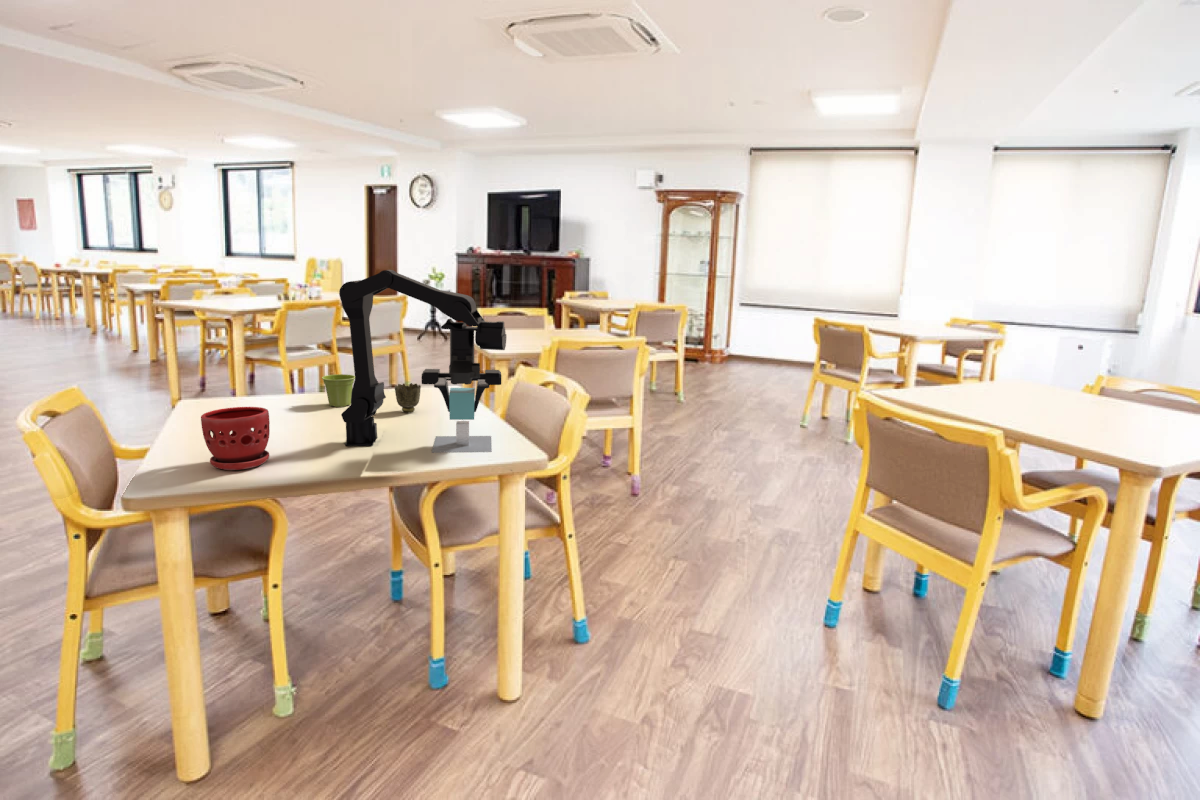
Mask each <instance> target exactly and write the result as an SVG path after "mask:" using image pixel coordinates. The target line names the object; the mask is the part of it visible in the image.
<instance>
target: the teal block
mask: <svg viewBox="0 0 1200 800" xmlns="http://www.w3.org/2000/svg"><path fill="white" fill-rule="evenodd" d="M475 389H476V388H475V387H450V389H449V410H450V412H449V420H450V421H451V420H452V421H453V420H454V421H469V420H470V421H471V420H473V421H474V420H475V413H476V412H474V403H475V396H476V390H475Z"/></svg>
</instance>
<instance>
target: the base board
mask: <svg viewBox="0 0 1200 800" xmlns="http://www.w3.org/2000/svg"><path fill="white" fill-rule="evenodd" d="M434 437H435V438H434V442H433V447H432V449H431V454H432V453H433V454H434V453H438V454H439V453H440V454H441V453H446V454H447V453H492V451H493V450H492V449H493V448H492V436H491V435H469V445H465V446H456V435H440V436H439V435H437V436H434Z"/></svg>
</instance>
